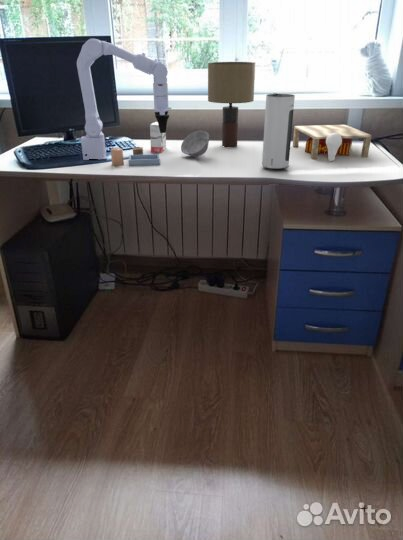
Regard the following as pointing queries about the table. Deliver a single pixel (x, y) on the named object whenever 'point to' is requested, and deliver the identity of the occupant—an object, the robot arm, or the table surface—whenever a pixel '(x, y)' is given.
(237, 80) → the lamp
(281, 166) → the speaker
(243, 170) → the table surface
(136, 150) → the block
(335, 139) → the lightbulb
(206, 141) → the bowl
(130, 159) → the tray
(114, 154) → the wooden cylinder
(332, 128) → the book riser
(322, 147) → the book
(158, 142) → the ink box
